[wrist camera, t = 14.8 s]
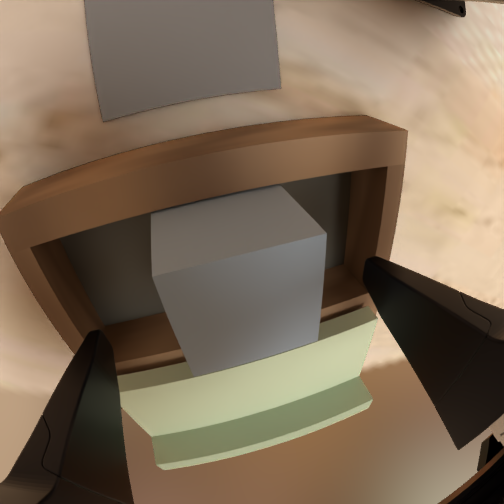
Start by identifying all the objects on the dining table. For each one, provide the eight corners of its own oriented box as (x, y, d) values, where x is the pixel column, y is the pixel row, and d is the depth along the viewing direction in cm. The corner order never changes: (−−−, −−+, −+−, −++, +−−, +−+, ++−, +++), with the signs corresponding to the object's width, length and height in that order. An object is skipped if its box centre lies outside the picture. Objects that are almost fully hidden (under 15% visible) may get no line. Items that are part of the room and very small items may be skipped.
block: (257, 162, 13) (326, 233, 8) (264, 249, 15) (317, 340, 10) (151, 185, 12) (152, 276, 7) (175, 271, 14) (193, 376, 10)
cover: (368, 305, 15) (398, 345, 13) (349, 375, 20) (368, 407, 17) (109, 377, 13) (111, 430, 10) (157, 431, 17) (163, 470, 15)
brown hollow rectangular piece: (366, 115, 13) (407, 130, 10) (347, 308, 20) (368, 338, 18) (22, 187, 10) (-6, 219, 8) (120, 369, 18) (121, 408, 15)
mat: (262, -57, 7) (265, -61, 7) (277, 88, 11) (280, 88, 11) (84, -33, 6) (82, -36, 6) (104, 120, 10) (103, 122, 10)
